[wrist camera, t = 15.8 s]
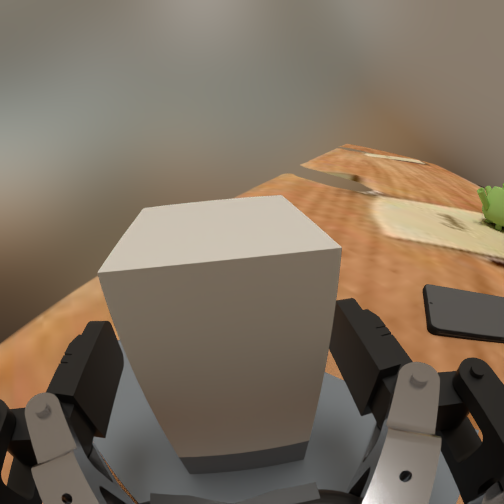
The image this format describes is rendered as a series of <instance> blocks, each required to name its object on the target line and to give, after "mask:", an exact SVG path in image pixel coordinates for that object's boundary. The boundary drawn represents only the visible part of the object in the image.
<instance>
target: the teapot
mask: <svg viewBox="0 0 504 504" xmlns="http://www.w3.org/2000/svg"><path fill="white" fill-rule="evenodd" d="M485 190H486V193H487V196H486V193H485V191H484V188H480V189H478V190H477V193H478V195H479V197H480V199H481V202H482V204H483V206H482V211H483V214H484V216H485V218H486V220H485V222H487V223H490V224H492V222H493V223H495V224H496V225H495V229H496V230H498V231H502V226H503V227H504V183H503V188H500V187H493V189H491V186H487V187H485Z"/></svg>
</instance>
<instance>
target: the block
mask: <svg viewBox="0 0 504 504" xmlns="http://www.w3.org/2000/svg"><path fill="white" fill-rule="evenodd" d="M341 251H342V247H341V246H339V245H338V244H337V243H336V242H335V241H334V240H333V239H332V238H331V237H329V236H328V235H327V234H326V233H325V232H324V231H323V230H322V229H320V228H319V227H318V226H317V225H316V224H315V223H314V222H312V221H311V220H310V219H309V218H308V217H307V216H306V215H304V214H303V213H302V212H301V211H300V210H298V209H297V208H296V207H295V206H294V205H293V204H291V203H290V202H289V201H288V200H287V199H285V198H284V197H283V196H282V195H276V196H261V197H248V198H235V199H224V200H213V201H203V202H193V203H184V204H175V205H167V206H158V207H151V208H144V209H143V210H142V211H141V212H140V214H139V215H138V216H137V218H136V219H135V220H134V222H133V223H132V224H131V226H130V227H129V228H128V230H127V231H126V232H125V234H124V235H123V236H122V238H121V239H120V241H119V242H118V243H117V245H116V246H115V248H114V249H113V250H112V252H111V253H110V255H109V256H108V258H107V259H106V261H105V262H104V264H103V265H102V267H101V268H100V270H99V271H98V277H99V280H100V283H101V287H102V290H103V293H104V296H105V299H106V302H107V305H108V308H109V311H110V314H111V317H112V320H113V323H114V325H115V328H116V331H117V333H118V336H119V339H120V341H121V344H122V346H123V349H124V351H125V353H126V356H127V358H128V361H129V363H130V365H131V368H132V370H133V372H134V374H135V377H136V379H137V381H138V383H139V385H140V387H141V389H142V391H143V394H144V396H145V398H146V400H147V402H148V404H149V406H150V407H151V409H152V411H153V413H154V415H155V417H156V419H157V421H158V423H159V424H160V426H161V428H162V430H163V432H164V433H165V435H166V437H167V439H168V440H169V442H170V444H171V445H172V447H173V449H174V450H175V452H176V454H177V455H178V457H179V458H180V460H181V461H182V463H183V465H184V466H185V468H186V469H187V471H188V472H189V474H208V473H222V472H232V471H241V470H249V469H256V468H263V467H269V466H274V465H280V464H285V463H290V462H294V461H299V460H303V459H304V457H305V454H306V450H307V446H308V443H309V439H310V435H311V431H312V427H313V423H314V419H315V414H316V410H317V406H318V401H319V397H320V392H321V387H322V382H323V377H324V372H325V367H326V362H327V356H328V350H329V344H330V338H331V332H332V326H333V319H334V312H335V305H336V297H337V289H338V281H339V272H340V262H341Z"/></svg>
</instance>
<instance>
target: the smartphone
mask: <svg viewBox="0 0 504 504" xmlns="http://www.w3.org/2000/svg"><path fill="white" fill-rule="evenodd" d="M423 297H424V304H425V311H426V319H427V328H428V331H429V332H430V333H432V334H434V335H441V336H448V337H456V338H463V339H471V340H480V341H489V342H498V343H504V297H499V296H493V295H487V294H482V293H476V292H470V291H464V290H458V289H453V288H447V287H441V286H435V285H430V284H427V285H425V286H424V288H423Z"/></svg>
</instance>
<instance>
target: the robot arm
mask: <svg viewBox="0 0 504 504" xmlns="http://www.w3.org/2000/svg"><path fill="white" fill-rule="evenodd" d="M329 349H330V352H331V354H332V356H333V358H334V360H335V362H336V364H337V366H338V368H339V370H340V372H341V374H342V377H343V379H344V381H345V383H346V385H347V387H348V389H349V391H350V393H351V396H352V398H353V400H354V402H355V404H356V406H357V408H358V411H359V413H360V415H361V416H364V415H367V414H371V413H372V414H373V416H374V418H375V420H376V422H375V424H374V427H373V430H372V433H371V436H370V439H369V442H368V444H367V447H366V450H365V452H364V455H363V458H362V460H361V463H360V465H359V467H358V469H357V471H356V473H355V475H354V477H353V479H352V481H351V482H350V484H349V487H348V489H347V491H346V493H345V492H342V491H336V490H327V489H318V488H317V485H316V482H313V483H309V484H304V485H299V486H294V487H288V488H283V489H276V490H273V491H270V492H267V493H265V494H262V495H259V496H256V497H253V498H250V499H247V500H243V501H240V502H236V503H226V502H220V501H214V500H209V499H204V498H199V497H195V496H190V495H169V494H156V493H150V501H147V502H143V503H138V504H428V503H429V500H430V496H431V492H432V488H433V484H434V480H435V476H436V471H437V466H438V461H439V455H440V450H441V452H442V454H443V456H444V459H445V461H446V463H447V465H448V467H449V469H450V472H451V474H452V476H453V478H454V481H455V483H456V485H457V487H458V490H459V492H460V495H461V497H462V499H463V502H464V504H504V385H503V383H502V382H501V381H500V379H499V378H498V377H497V375H496V374H495V373H494V371H493V370H492V369H491V368H490V366H489V365H488V364H487V363H486V362H484V361H483V360H481V359H478V358H467V359H465V360H463V361H462V363H461V364H460V366H459V368H458V370H457V371H452V372H440V373H437V372H436V370H435V369H434V368H432V367H431V366H429V365H428V364H425V363H421V362H412V360H411V359H410V358H409V356H408V355H407V353H406V352H405V351H404V349H403V348H402V347H401V345H400V344H399V343H398V341H397V340H396V339H395V337H394V336H393V335H391V332H390V331H389V329H388V328H387V327H385V324H384V323H383V322H382V320H381V319H380V318H379V316H377V315H376V314H374V313H372V312H371V311H369V310H368V309H366V310H362V308H361V307H360V306H359V304H358V303H357V302H356V300H355V299H353V298H350V299H343V300H337V301H336V305H335V312H334V319H333V326H332V332H331V338H330V344H329ZM123 368H124V357H123V353H122V350H121V348H120V345H119V343H118V340H117V338H116V335H115V333H114V330H113V328H112V325H111V323H110V322H109V321H90V322H89V323H88V324H87V326H86V328H85V329H84V331H83V333H82V335H78V336H77V337H76V338H75V339H74V340H73V341H72V342H71V343H70V344H69V346H68V348H67V350H66V352H65V355H64V356H63V358H62V360H61V364H59V366H58V368H57V370H56V372H55V374H54V376H53V378H52V380H51V382H50V384H49V387H48V389H47V391H46V393H40V394H37V395H35V396H34V397H33V398H31V399H30V401H29V402H28V403H27V405H26V408H18V409H9V407H8V406H7V405H6V404H5V402H4V401H2V400H0V504H42V502H43V504H135V503H134V502H133V501H132V499H131V498H130V497H129V496H128V495H127V494H126V493H125V492H124V491H123V489H122V488H121V487H120V486H119V484H118V483H117V481H116V480H115V478H114V476H113V475H112V473H111V471H110V470H109V468H108V466H107V465H106V463H105V461H104V459H103V458H102V456H101V454H100V452H99V450H98V448H97V447H96V445H95V444H94V443H93V438H94V437H100V438H106V434H107V429H108V425H109V421H110V416H111V412H112V408H113V404H114V400H115V397H116V393H117V389H118V386H119V382H120V378H121V375H122V371H123ZM469 413H471V415H472V416H473V418H474V420H475V421H476V423H477V425H478V426H479V428H480V430H481V432H482V434H483V442H482V441H481V439H480V438H479V436H478V434H477V432H476V431H475V429H474V427H473V425H472V424H471V422H470V420H469V419H468V417H467V416H468V414H469ZM7 451H8V452H9V453H10V454H11V455H12V456H13V457H14V458H13V462H12V466H11V470H10V474H9V478H8V483H7V486H6V485H5V484H4V483H3V481H2V478H1V470H2V467H3V463H4V459H5V456H6V452H7Z"/></svg>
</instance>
